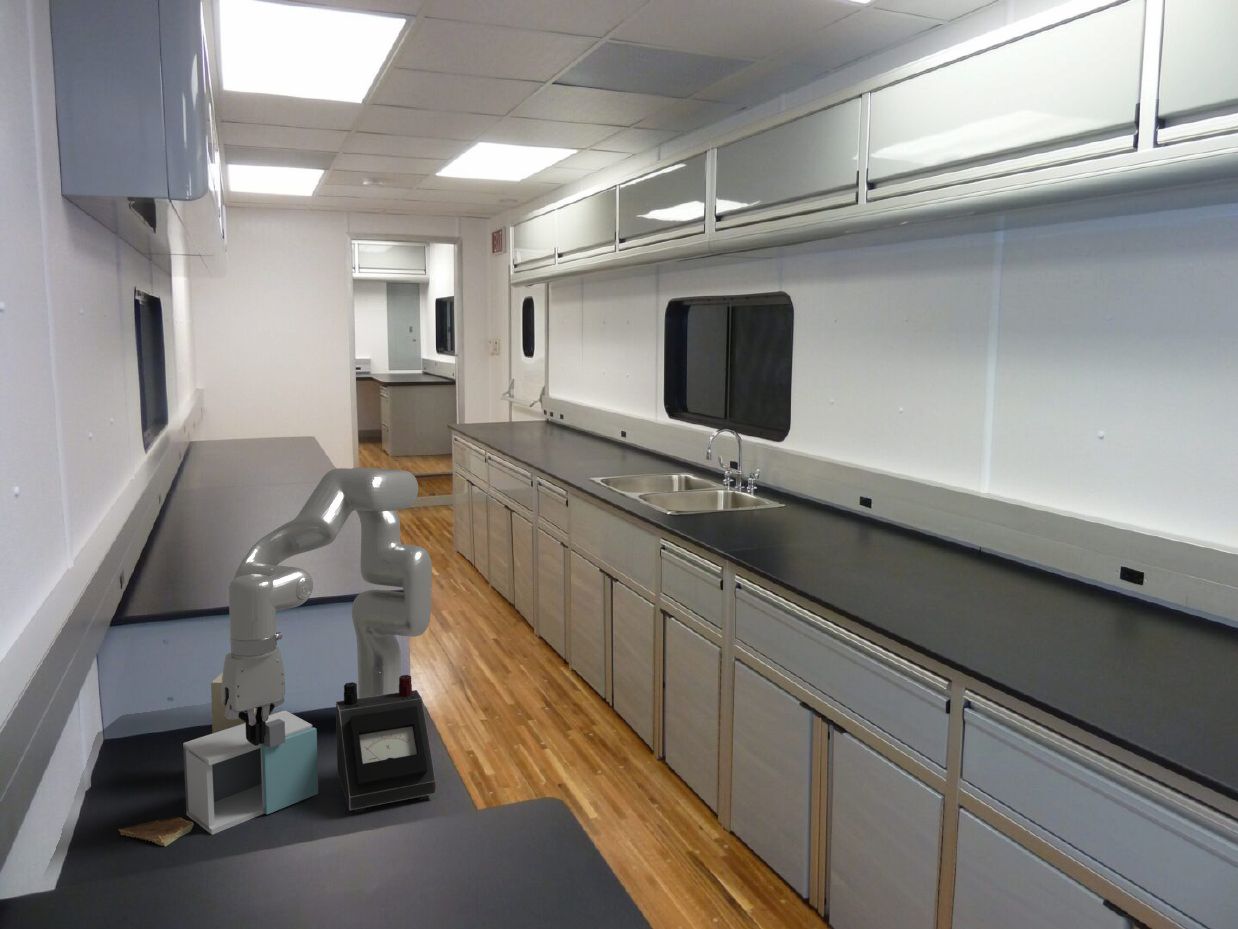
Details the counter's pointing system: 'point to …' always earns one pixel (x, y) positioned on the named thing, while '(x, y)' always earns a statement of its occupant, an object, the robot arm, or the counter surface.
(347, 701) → the voltmeter
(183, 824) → the shard
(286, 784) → the sliding door
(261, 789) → the storage cabinet
